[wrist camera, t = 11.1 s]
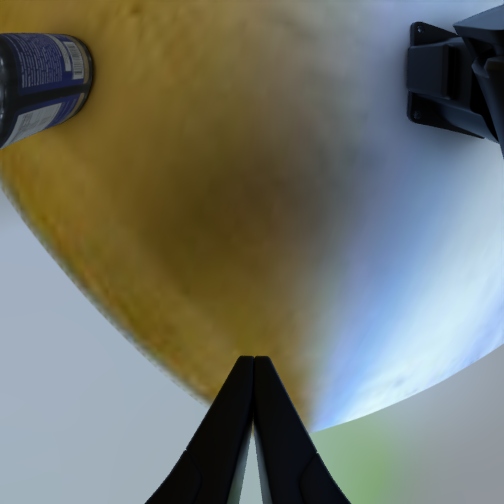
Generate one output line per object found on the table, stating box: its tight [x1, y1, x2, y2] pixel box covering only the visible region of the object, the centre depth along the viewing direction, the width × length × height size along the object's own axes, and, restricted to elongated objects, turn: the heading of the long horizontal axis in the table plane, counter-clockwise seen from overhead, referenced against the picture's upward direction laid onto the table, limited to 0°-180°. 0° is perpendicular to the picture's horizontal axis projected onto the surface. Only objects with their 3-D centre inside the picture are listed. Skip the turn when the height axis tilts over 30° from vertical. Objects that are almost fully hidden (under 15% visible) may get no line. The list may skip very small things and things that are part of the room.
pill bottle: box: [0, 33, 93, 149], centre depth 10 cm, size 6×6×11 cm
